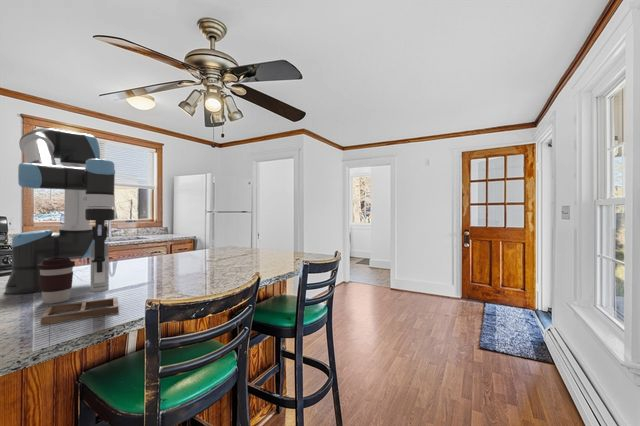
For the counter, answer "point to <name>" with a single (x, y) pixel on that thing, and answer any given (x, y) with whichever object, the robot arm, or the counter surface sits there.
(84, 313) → the walnut divider frame
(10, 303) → the counter surface
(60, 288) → the coffee cup
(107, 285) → the container
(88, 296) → the counter surface
